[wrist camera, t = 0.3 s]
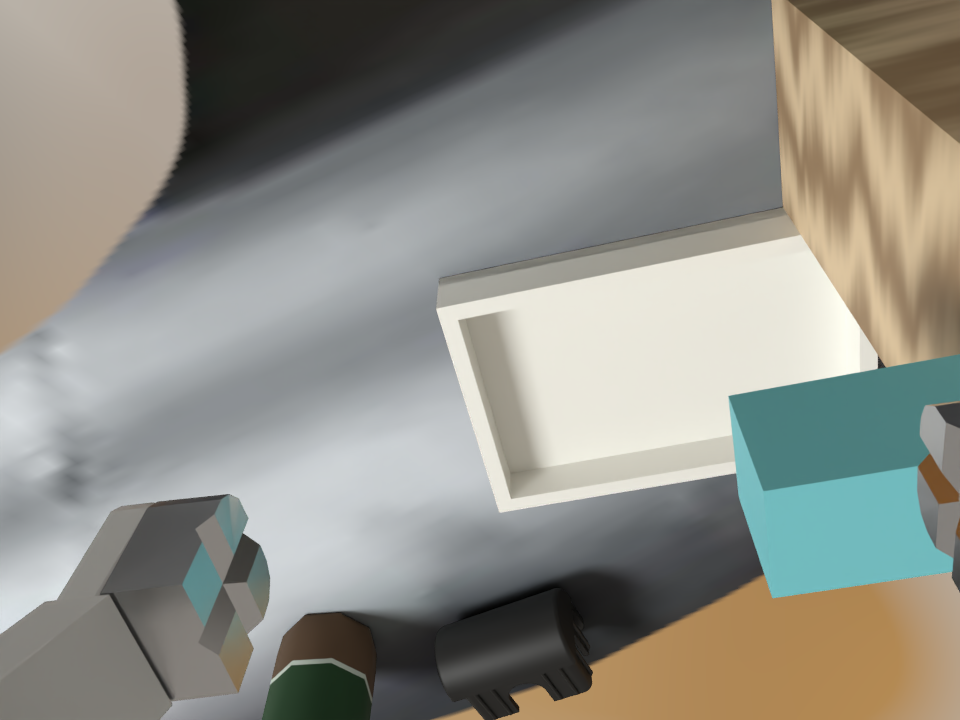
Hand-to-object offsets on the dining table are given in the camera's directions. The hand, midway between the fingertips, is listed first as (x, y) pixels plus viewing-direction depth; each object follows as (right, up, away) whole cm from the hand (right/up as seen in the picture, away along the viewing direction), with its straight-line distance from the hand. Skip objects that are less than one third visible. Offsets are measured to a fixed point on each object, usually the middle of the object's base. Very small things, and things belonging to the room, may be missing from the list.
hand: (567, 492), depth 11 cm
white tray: (+10, +2, +45) cm, 46 cm away
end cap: (+2, -18, +59) cm, 62 cm away
